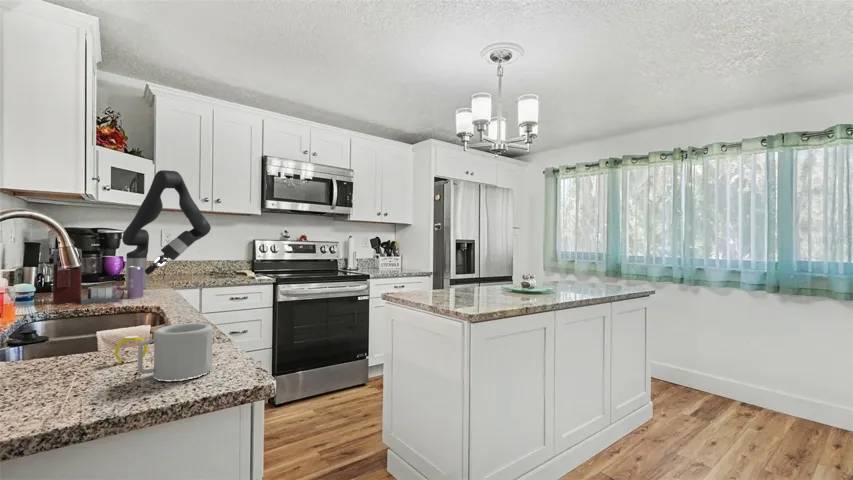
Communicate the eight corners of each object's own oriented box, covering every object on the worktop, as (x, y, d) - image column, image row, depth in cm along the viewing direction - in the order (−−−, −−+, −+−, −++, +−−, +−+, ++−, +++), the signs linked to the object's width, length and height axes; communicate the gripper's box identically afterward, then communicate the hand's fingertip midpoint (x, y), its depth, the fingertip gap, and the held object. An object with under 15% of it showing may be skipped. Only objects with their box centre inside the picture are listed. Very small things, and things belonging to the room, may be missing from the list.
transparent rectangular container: (85, 299, 183) (85, 286, 183) (121, 296, 190) (121, 284, 190) (80, 304, 168) (80, 290, 168) (119, 301, 176) (119, 288, 176)
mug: (200, 363, 92) (200, 320, 92) (220, 373, 85) (221, 327, 85) (129, 378, 81) (130, 330, 81) (146, 391, 75) (147, 339, 75)
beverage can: (146, 297, 190) (146, 266, 190) (135, 299, 184) (136, 267, 184) (134, 297, 190) (134, 266, 190) (123, 298, 184) (124, 266, 184)
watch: (143, 359, 95) (146, 334, 96) (147, 361, 94) (149, 336, 94) (112, 362, 91) (115, 336, 91) (115, 365, 89) (118, 338, 89)
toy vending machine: (52, 305, 165) (53, 238, 165) (54, 302, 174) (54, 238, 173) (81, 303, 171) (81, 238, 171) (81, 300, 179) (81, 238, 179)
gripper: (167, 243, 200) (139, 266, 194) (169, 243, 189) (139, 268, 182) (179, 253, 203) (152, 276, 197) (182, 254, 192) (153, 279, 185)
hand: (146, 272), depth 189 cm, fingers open, 8 cm apart
